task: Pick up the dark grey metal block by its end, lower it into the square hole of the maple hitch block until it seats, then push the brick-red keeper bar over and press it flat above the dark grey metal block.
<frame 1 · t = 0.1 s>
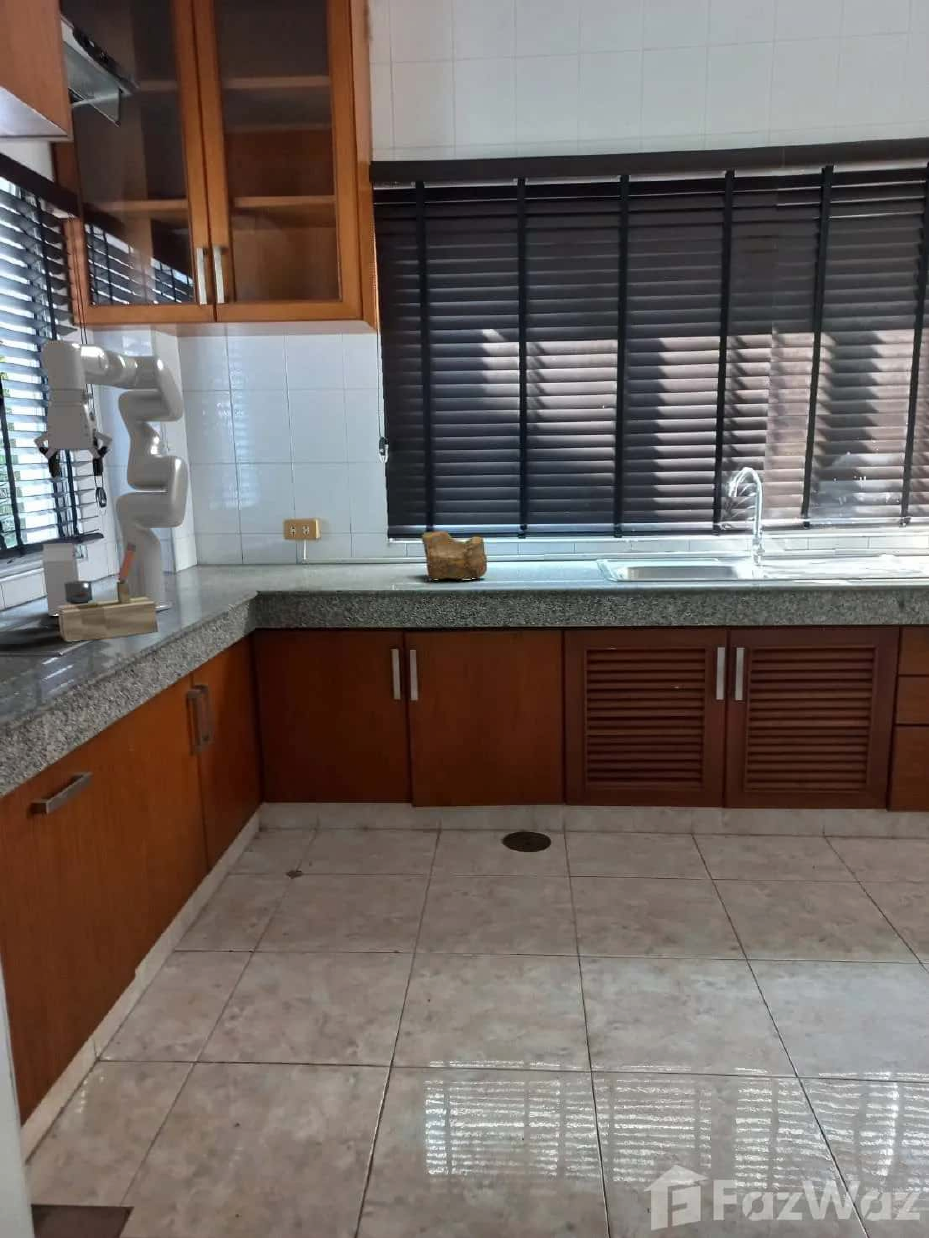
hand: (77, 476, 192), 37 cm above the table, tool pointing down, fingers open, 9 cm apart
dark grey metal block: (82, 626, 210), on the table
rough brown rock: (447, 580, 274), on the table
milk carton: (66, 615, 225), on the table
hitch block: (109, 633, 201), on the table
keeper bar: (127, 562, 201), point 16 cm above the table, hinge at 110.0°
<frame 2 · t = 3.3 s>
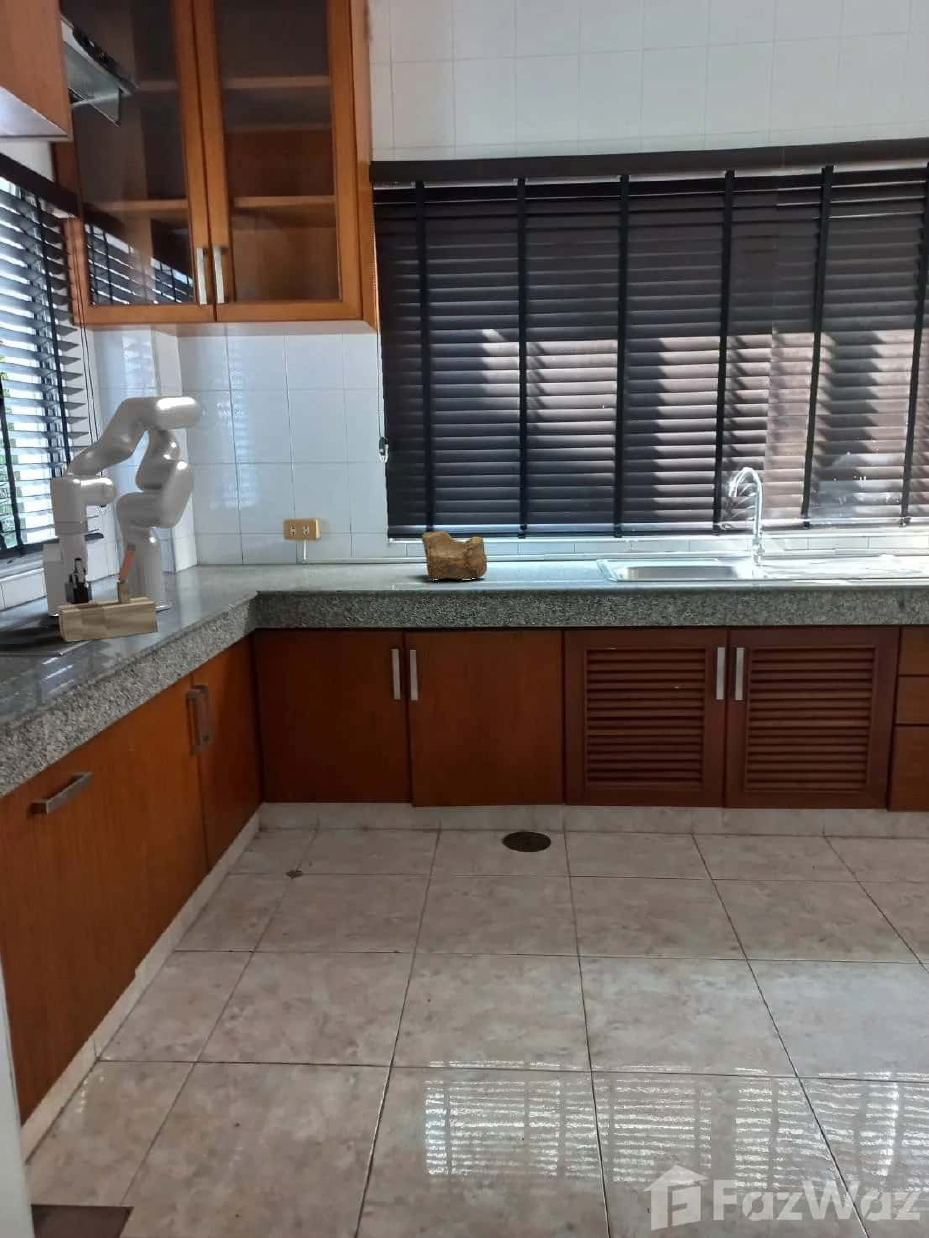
hand: (79, 600, 208), 6 cm above the table, tool pointing down, fingers closed on dark grey metal block, 6 cm apart
dark grey metal block: (82, 626, 210), on the table, touching gripper
everything else where it was.
when the fingers open (8 cm above the table, at t = 9.7 s): dark grey metal block drops 1 cm, resting on hitch block.
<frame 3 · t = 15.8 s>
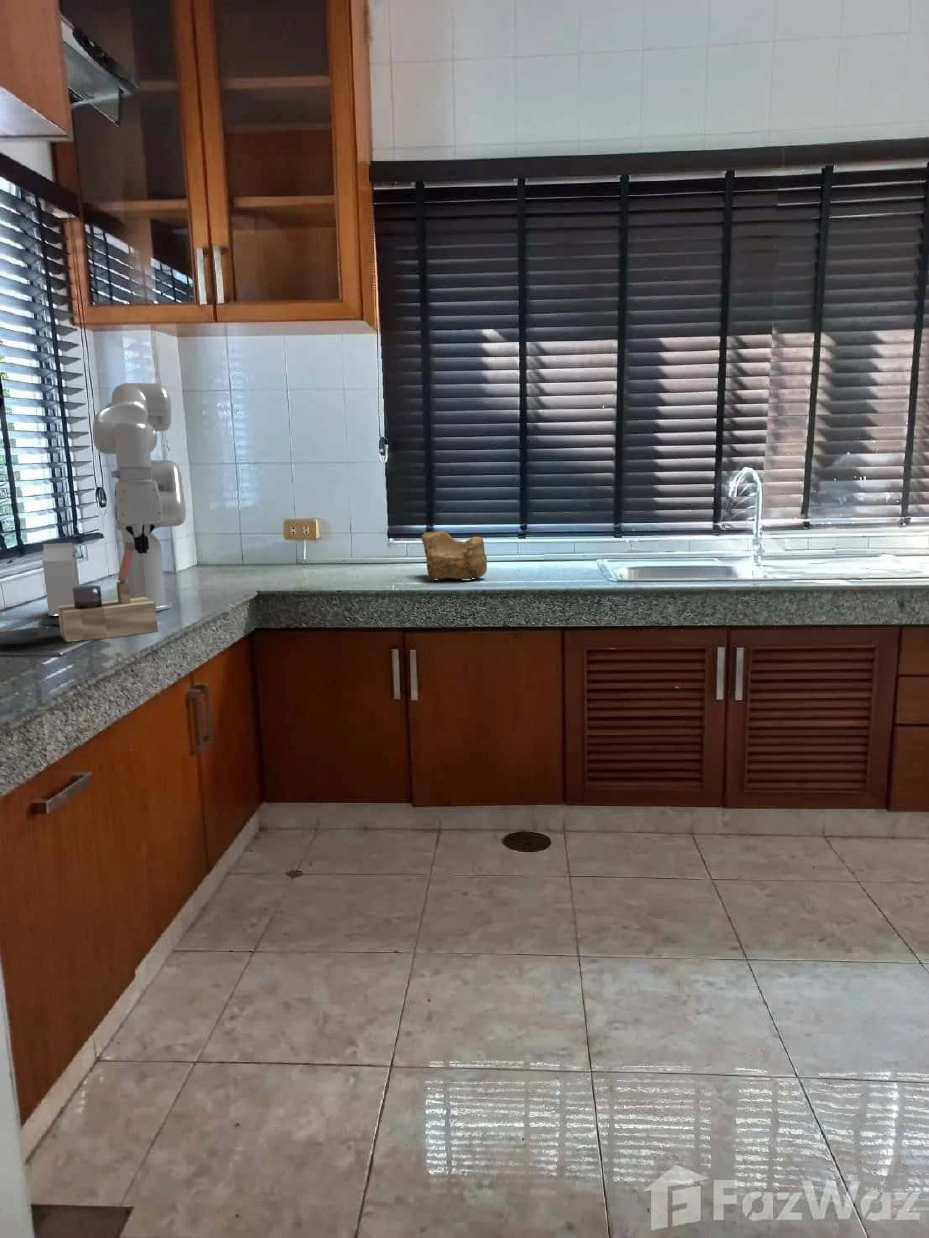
hand: (142, 552, 202), 19 cm above the table, tool pointing down, fingers closed
dark grey metal block: (91, 633, 199), resting on hitch block
keeper bar: (126, 562, 201), point 17 cm above the table, hinge at 107.2°, touching gripper
everything else where it was.
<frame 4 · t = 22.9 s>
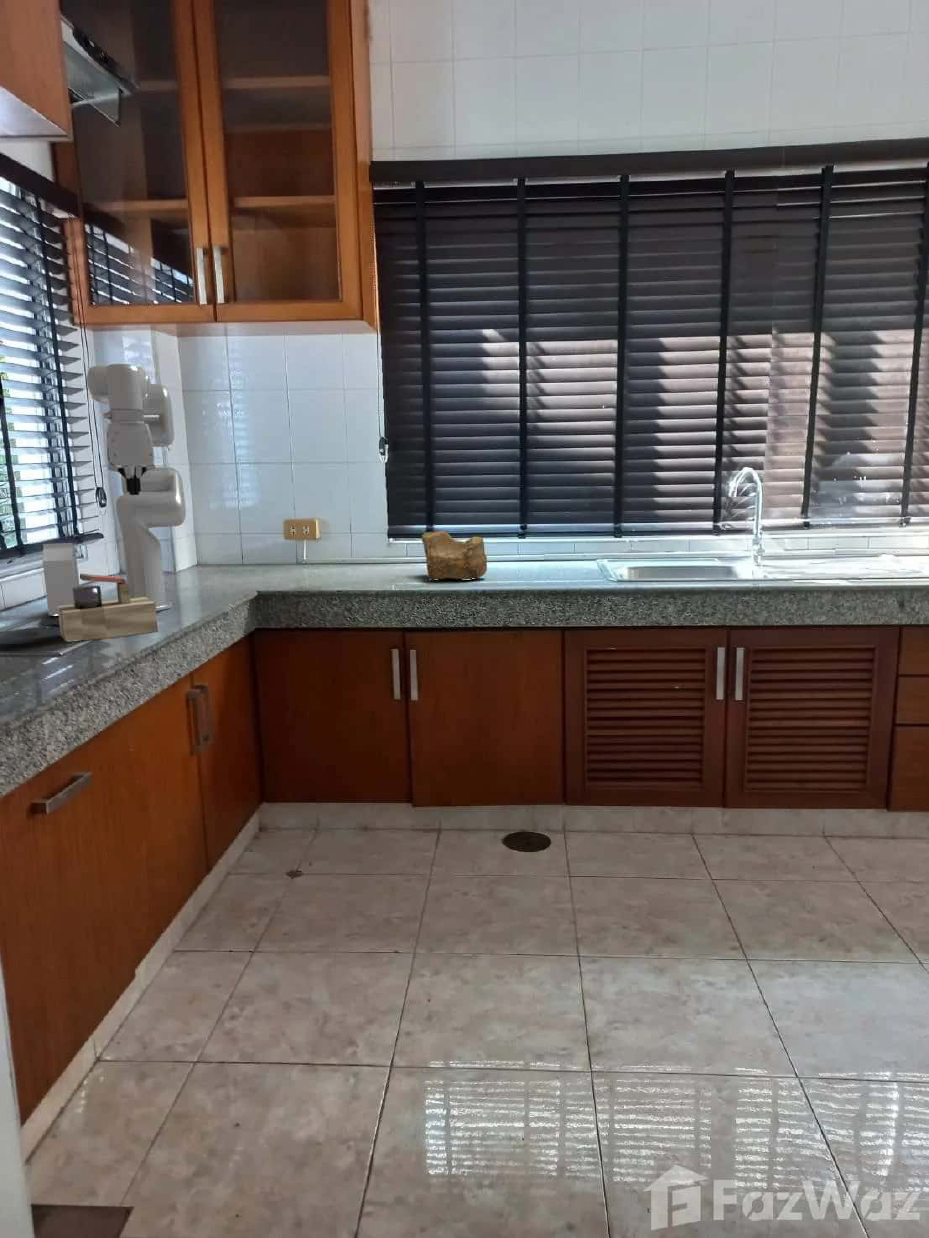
hand: (134, 494, 206), 32 cm above the table, tool pointing down, fingers closed
keeper bar: (103, 578, 198), point 13 cm above the table, hinge at 10.2°
everything else where it was.
at the end: dark grey metal block 0.1 cm from the target spot on the hitch block, point 0.5 cm above the hitch block's base; dark grey metal block tilted 0°; keeper bar at +10° (first picture: +110°) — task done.
